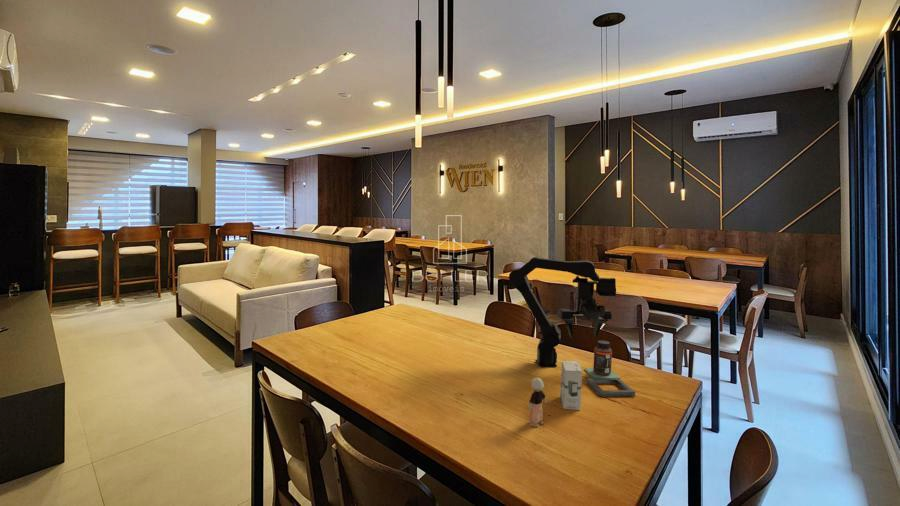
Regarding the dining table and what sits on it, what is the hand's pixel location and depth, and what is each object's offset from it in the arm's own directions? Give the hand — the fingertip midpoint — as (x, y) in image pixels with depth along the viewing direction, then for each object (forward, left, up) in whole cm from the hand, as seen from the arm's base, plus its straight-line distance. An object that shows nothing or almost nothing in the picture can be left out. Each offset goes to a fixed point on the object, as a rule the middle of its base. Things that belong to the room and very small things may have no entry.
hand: (583, 336), depth 152 cm
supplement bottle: (+5, -6, -12) cm, 14 cm away
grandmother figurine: (-29, -40, -12) cm, 51 cm away
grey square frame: (+2, -18, -12) cm, 22 cm away
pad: (+5, -6, -12) cm, 14 cm away
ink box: (-15, -28, -12) cm, 34 cm away
